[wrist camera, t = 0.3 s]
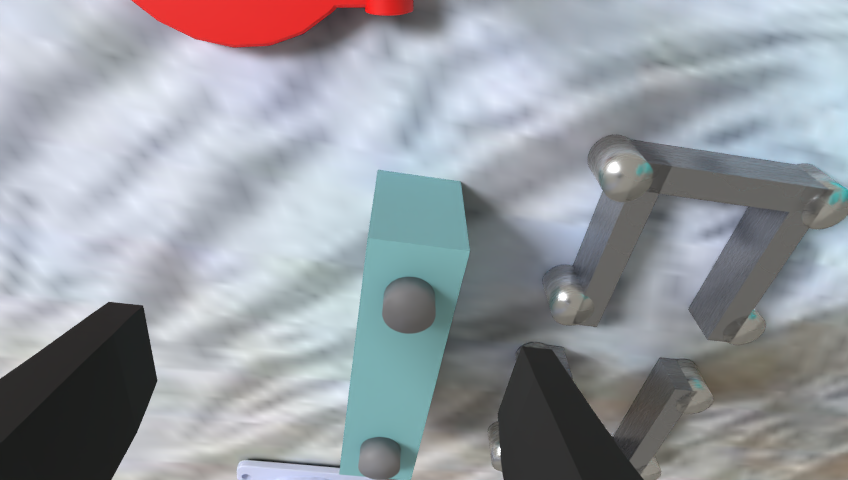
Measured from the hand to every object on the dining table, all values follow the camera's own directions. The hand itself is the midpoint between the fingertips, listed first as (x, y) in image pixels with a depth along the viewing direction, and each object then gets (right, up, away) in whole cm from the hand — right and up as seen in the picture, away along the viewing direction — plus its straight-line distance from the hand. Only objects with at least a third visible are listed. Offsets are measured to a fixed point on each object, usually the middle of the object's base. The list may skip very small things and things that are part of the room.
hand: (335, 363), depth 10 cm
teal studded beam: (+1, 0, +12) cm, 12 cm away
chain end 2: (+11, +3, +10) cm, 15 cm away
